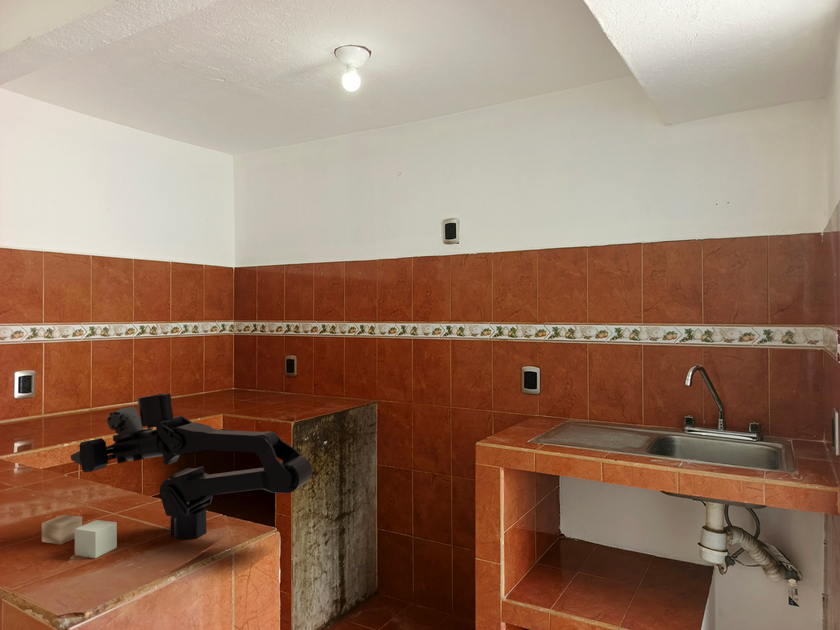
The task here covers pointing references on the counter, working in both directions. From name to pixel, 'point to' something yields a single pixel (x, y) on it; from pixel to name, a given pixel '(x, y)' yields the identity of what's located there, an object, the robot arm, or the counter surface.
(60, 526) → the maple block
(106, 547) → the sage block
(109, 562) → the counter surface
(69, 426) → the counter surface
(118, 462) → the robot arm
